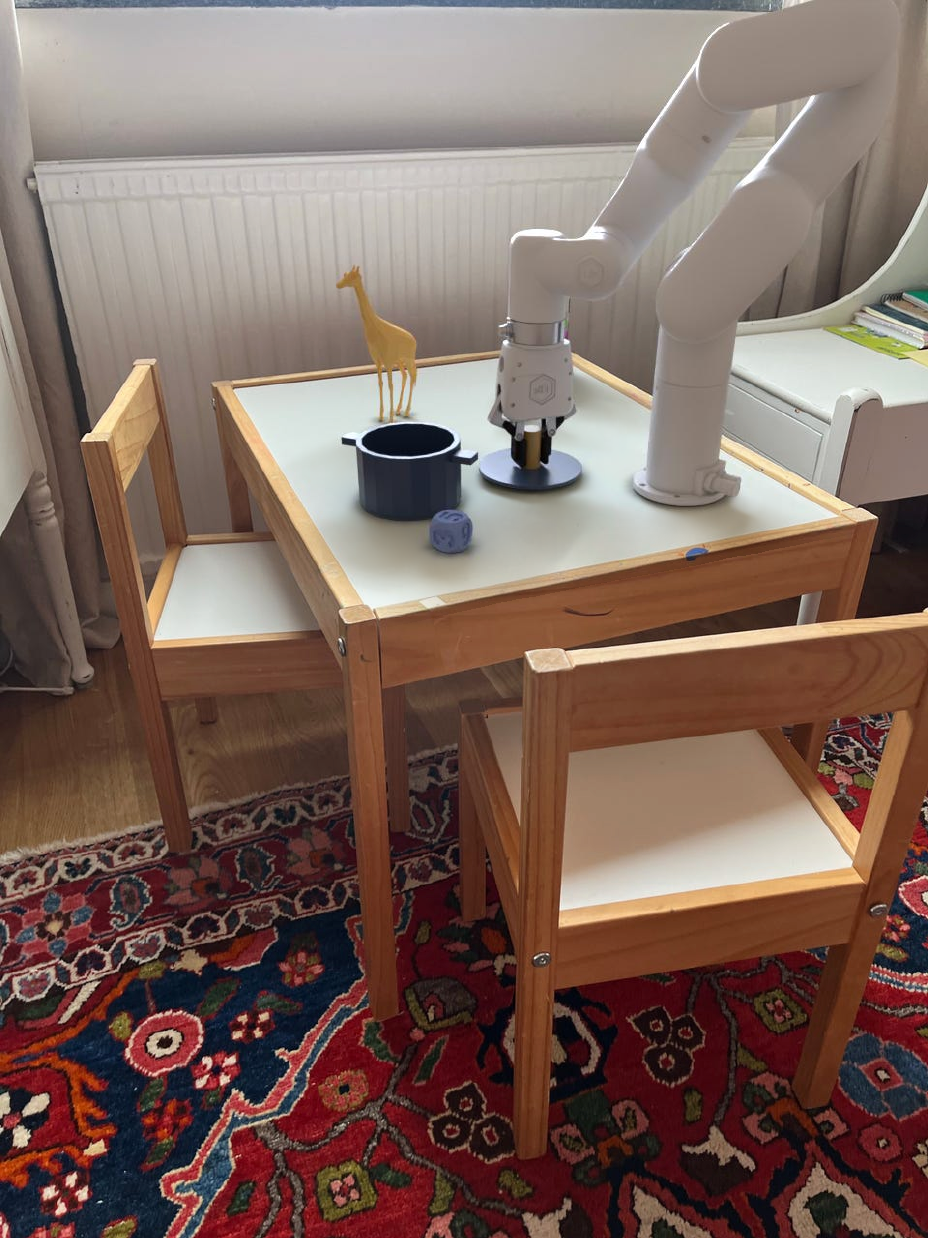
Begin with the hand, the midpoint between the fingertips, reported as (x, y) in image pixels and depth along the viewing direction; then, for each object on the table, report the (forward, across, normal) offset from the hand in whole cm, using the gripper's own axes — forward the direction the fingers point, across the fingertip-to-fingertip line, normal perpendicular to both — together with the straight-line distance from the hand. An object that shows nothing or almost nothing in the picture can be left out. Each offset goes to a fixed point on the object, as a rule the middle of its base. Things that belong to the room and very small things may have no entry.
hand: (530, 461), depth 137 cm
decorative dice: (+2, -18, -18) cm, 25 cm away
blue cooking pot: (+2, -19, -2) cm, 19 cm away
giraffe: (+2, -13, +29) cm, 32 cm away
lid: (+1, 0, 0) cm, 1 cm away
